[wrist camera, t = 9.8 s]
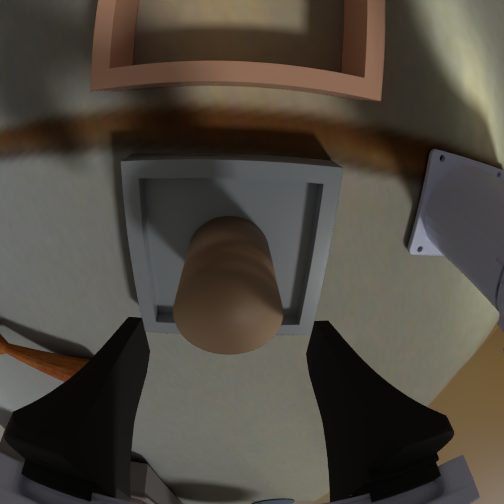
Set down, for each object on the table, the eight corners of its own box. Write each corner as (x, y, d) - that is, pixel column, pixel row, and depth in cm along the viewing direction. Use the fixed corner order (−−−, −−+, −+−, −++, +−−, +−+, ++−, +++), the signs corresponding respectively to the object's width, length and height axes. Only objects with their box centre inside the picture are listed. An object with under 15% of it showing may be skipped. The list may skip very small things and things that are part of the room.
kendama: (93, 413, 23) (-51, 354, 18) (102, 364, 28) (-34, 316, 22) (85, 393, 20) (-73, 324, 14) (99, 336, 24) (-50, 283, 19)
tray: (332, 160, 17) (343, 167, 15) (305, 316, 23) (310, 334, 21) (132, 154, 16) (120, 161, 14) (150, 314, 22) (144, 331, 20)
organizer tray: (83, 486, 53) (78, 513, 44) (4, 417, 34) (-11, 456, 25) (190, 505, 55) (189, 536, 46) (152, 455, 36) (146, 509, 27)
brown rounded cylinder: (272, 217, 18) (289, 271, 12) (265, 287, 20) (276, 354, 15) (187, 214, 17) (168, 269, 12) (190, 285, 20) (178, 352, 14)
